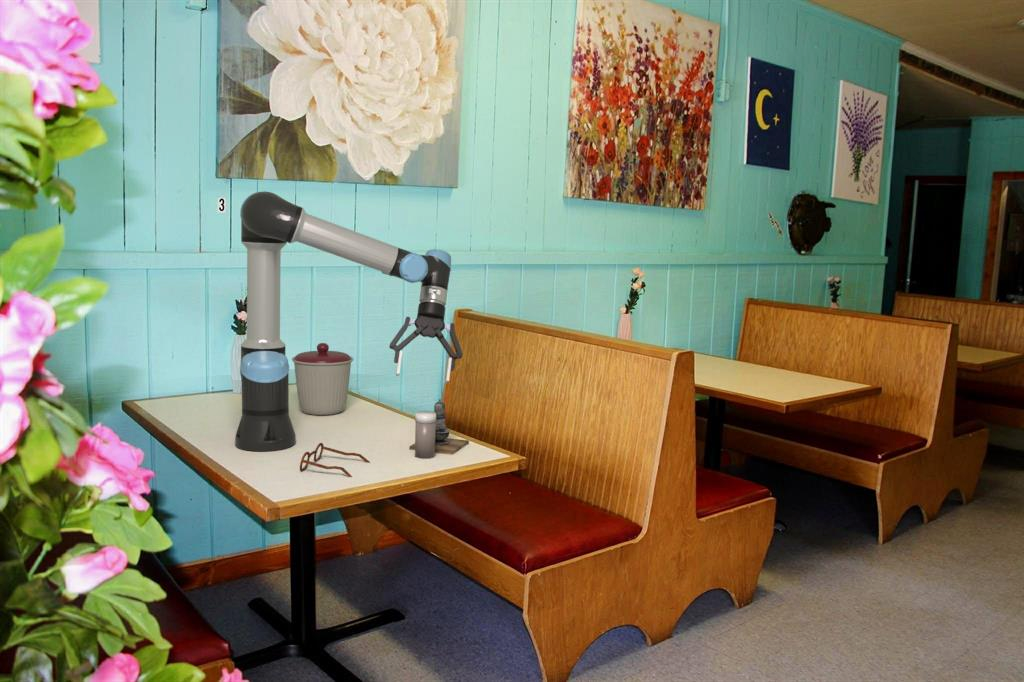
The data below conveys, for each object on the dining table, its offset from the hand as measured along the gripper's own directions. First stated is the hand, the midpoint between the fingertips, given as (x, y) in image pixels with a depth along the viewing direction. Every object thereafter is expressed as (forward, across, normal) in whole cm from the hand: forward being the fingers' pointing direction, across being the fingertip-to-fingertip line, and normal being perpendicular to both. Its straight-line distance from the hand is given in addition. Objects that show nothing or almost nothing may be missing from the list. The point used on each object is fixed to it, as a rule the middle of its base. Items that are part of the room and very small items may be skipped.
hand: (422, 378), depth 243 cm
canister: (+8, -27, +33) cm, 43 cm away
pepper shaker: (+23, +2, -14) cm, 27 cm away
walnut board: (+19, +6, -6) cm, 21 cm away
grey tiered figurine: (+18, +6, -6) cm, 20 cm away
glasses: (+30, -19, -22) cm, 41 cm away
